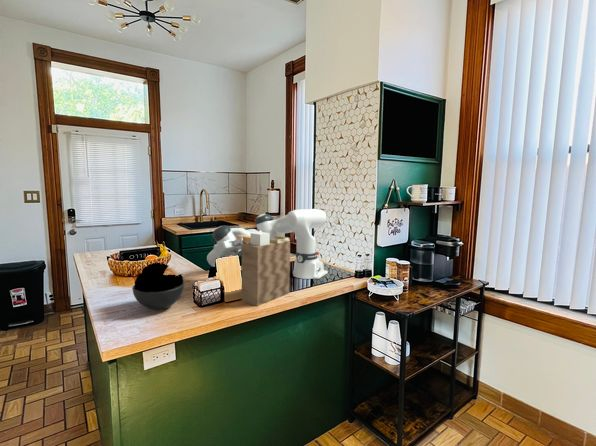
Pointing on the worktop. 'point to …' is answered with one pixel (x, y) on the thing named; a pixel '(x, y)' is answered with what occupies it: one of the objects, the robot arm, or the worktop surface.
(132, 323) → the worktop surface
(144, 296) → the dark grey bowl
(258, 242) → the mallet
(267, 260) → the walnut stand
